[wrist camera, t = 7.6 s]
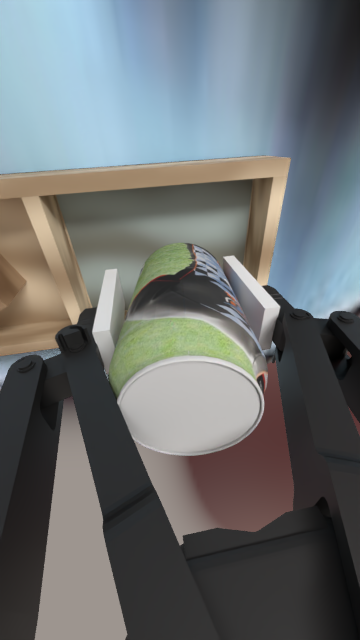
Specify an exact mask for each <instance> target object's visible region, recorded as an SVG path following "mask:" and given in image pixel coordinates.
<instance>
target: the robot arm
mask: <svg viewBox="0 0 360 640" xmlns="http://www.w3.org/2000/svg"><path fill="white" fill-rule="evenodd" d="M222 270H223V272H224V274H225V276H226V278H227V280H228V282H229V284H230V286H231V288H232V290H233V292H234V294H235V296H236V298H237V300H238V302H239V304H240V306H241V308H242V310H243V312H244V314H245V316H246V318H247V320H248V323H249V325H250V327H251V329H252V331H253V333H254V335H255V337H256V339H257V341H258V343H259V345H260V347H261V349H262V350H267V349H270V348H271V344H272V341H273V342H274V343H275V345H276V349H275V353H274V356H273V361H272V363H274V362H275V360H276V364H277V372H278V378H279V386H280V392H281V399H282V406H283V413H284V420H285V427H286V433H287V441H288V447H289V454H290V461H291V468H292V475H293V481H294V499H293V511H290V512H286V513H284V514H283V515H281V516H280V517H278V518H277V519H276V520H274V521H272V522H271V523H269V524H268V525H266V526H265V527H263V528H262V529H261V530H259V531H257V532H247V531H239V530H229V529H221V528H215V529H210V530H206V531H202V532H197V533H193V534H188V535H184V536H183V541H184V543H183V544H182V545H179V543H178V541H177V539H176V536H175V534H174V531H173V529H172V527H171V524H170V522H169V520H168V517H167V515H166V513H165V510H164V508H163V506H162V504H161V501H160V499H159V497H158V495H157V492H156V490H155V489H154V487H153V485H152V483H151V480H150V478H149V476H148V473H147V471H146V469H145V466H144V464H143V461H142V459H141V457H140V455H139V452H138V450H137V447H136V445H135V443H134V440H133V438H132V436H131V433H130V431H129V429H128V426H127V424H126V422H125V419H124V417H123V415H122V412H121V410H120V407H119V405H118V404H117V400H116V398H115V396H114V393H113V391H112V389H111V386H110V384H109V382H108V379H107V377H106V375H105V372H104V368H105V371H106V374H109V366H110V363H111V360H112V357H113V354H114V351H115V348H116V344H117V341H118V338H119V335H120V332H121V329H122V326H123V323H124V314H125V301H124V297H123V292H122V288H121V283H120V279H119V274H118V270H117V269H109V270H105V275H104V279H103V284H102V289H101V293H100V298H99V302H98V307H95V308H87V309H84V310H83V312H82V313H81V314H80V315H79V319H78V322H77V324H73V325H69V326H66V327H64V328H62V329H61V330H60V331H58V332H57V334H56V335H55V340H56V342H57V344H58V346H59V349H60V351H61V354H59V355H57V356H55V357H52V358H49V359H46V360H43V359H42V358H41V357H40V356H38V355H29V356H26V357H23V358H21V359H19V360H17V361H16V362H15V363H14V364H12V365H11V367H10V369H9V370H8V373H7V375H6V378H5V381H4V383H3V386H2V389H1V391H0V640H34V639H35V632H36V626H37V620H38V612H39V604H40V595H41V587H42V578H43V570H44V562H45V552H46V545H47V536H48V528H49V519H50V511H51V503H52V494H53V485H54V477H55V469H56V460H57V452H58V443H59V435H60V426H61V418H62V409H63V401H64V399H66V398H68V397H71V396H73V400H74V404H75V408H76V412H77V416H78V420H79V424H80V427H81V431H82V435H83V439H84V443H85V447H86V451H87V455H88V459H89V463H90V467H91V471H92V475H93V479H94V483H95V487H96V491H97V494H98V498H99V503H100V507H101V511H102V515H103V533H104V538H105V543H106V547H107V552H108V556H109V560H110V564H111V568H112V572H113V576H114V580H115V584H116V589H117V593H118V597H119V601H120V605H121V609H122V613H123V618H124V622H125V626H126V630H127V634H128V635H127V637H126V639H125V640H360V436H359V434H358V431H357V429H356V426H355V423H354V421H353V419H352V416H351V414H350V411H349V408H350V410H351V411H352V412H353V414H354V416H355V417H356V418H357V420H358V421H359V423H360V318H359V317H358V316H356V315H354V314H352V313H350V312H346V311H335V312H332V313H331V314H330V317H329V319H319V318H313V316H312V315H311V314H310V313H309V312H307V311H305V310H302V309H294V308H293V307H292V306H291V305H290V304H289V303H288V302H287V301H286V300H285V299H284V298H283V297H282V295H281V294H279V292H278V291H277V290H276V289H274V288H272V287H270V286H268V285H264V286H261V285H260V284H259V283H258V282H257V281H256V279H255V278H254V277H253V276H252V275H251V274H250V273H249V272H248V271H247V270H246V269H245V267H244V266H243V265H242V264H241V263H240V262H239V261H238V260H237V259H236V258H235V256H225V257H223V266H222ZM348 351H349V352H350V354H351V355H352V357H351V358H350V357H349V356H348V355H347V352H348ZM348 407H349V408H348Z"/></svg>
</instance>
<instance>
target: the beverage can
mask: <svg viewBox="0 0 360 640" xmlns="http://www.w3.org/2000/svg"><path fill="white" fill-rule="evenodd" d="M267 376H268V370H267V363H266V358H265V356H264V354H263V351H262V349H261V347H260V345H259V343H258V341H257V339H256V337H255V335H254V333H253V331H252V329H251V327H250V325H249V323H248V320H247V318H246V316H245V314H244V312H243V310H242V308H241V306H240V304H239V302H238V300H237V298H236V296H235V294H234V292H233V290H232V288H231V286H230V284H229V282H228V280H227V278H226V276H225V274H224V272H223V270H222V268H221V266H220V264H219V262H218V261H217V260H216V258H215V257H214V256H213V255H212V254H211V253H210V252H209V251H207V250H206V249H204V248H202V247H200V246H197V245H195V244H190V243H174V244H170V245H166V246H164V247H162V248H160V249H158V250H156V251H155V252H154V253H153V254H151V255H150V257H149V258H148V259H147V260H146V261H145V263H144V265H143V267H142V269H141V272H140V275H139V278H138V281H137V284H136V287H135V290H134V293H133V296H132V299H131V302H130V305H129V308H128V311H127V314H126V317H125V320H124V323H123V326H122V329H121V332H120V335H119V338H118V341H117V344H116V348H115V351H114V354H113V357H112V360H111V363H110V366H109V377H108V379H109V384H110V386H111V389H112V391H113V393H114V396H115V398H116V400H117V404H118V405H119V407H120V410H121V412H122V415H123V417H124V419H125V422H126V424H127V426H128V429H129V431H130V433H131V436H132V438H133V440H134V441H136V442H137V443H139V444H140V445H142V446H144V447H147V448H148V449H151V450H154V451H157V452H161V453H165V454H171V455H181V456H185V455H186V456H192V455H202V454H208V453H213V452H216V451H220V450H223V449H225V448H228V447H230V446H233V445H234V444H236V443H238V442H240V441H241V440H243V439H244V438H245V437H246V436H248V435H249V434H250V433H251V432H252V431H253V430H254V429H255V428H256V426H257V425H258V423H259V421H260V420H261V417H262V414H263V412H264V399H263V395H264V392H265V389H266V386H267Z"/></svg>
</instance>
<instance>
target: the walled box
mask: <svg viewBox="0 0 360 640" xmlns="http://www.w3.org/2000/svg"><path fill="white" fill-rule="evenodd" d="M290 160H291V158H286V157H275V156H251V157H237V158H223V159H209V160H194V161H180V162H166V163H152V164H138V165H124V166H110V167H96V168H82V169H68V170H54V171H40V172H26V173H12V174H0V254H1V255H2V256H3V257H4V258H5V259H6V260H7V261H8V262H9V263H10V264H11V265H12V266H13V267H14V268H15V269H16V270H17V272H18V273H19V274H20V275H21V276H22V277H23V278H24V279H25V280H26V281H27V282H26V283H25V284H24V286H23V287H22V288H21V290H20V291H19V292H18V293H17V295H16V296H15V297H14V299H13V300H12V301H11V303H10V304H9V305H8V306H7V307H6V308H4V309H2V310H0V356H5V355H12V354H19V353H26V352H33V351H40V350H47V349H54V348H59V346H58V344H57V342H56V340H55V335H56V334H57V332H58V331H60V330H61V329H62V328H64V327H66V326H69V325H73V324H77V322H78V319H79V315H80V314H81V313H82V312H83V310H84V309H87V308H95V307H98V302H99V298H100V293H101V289H102V284H103V279H104V275H105V270H109V269H117V270H118V274H119V279H120V283H121V288H122V292H123V297H124V301H125V314H124V320H125V317H126V314H127V311H128V308H129V305H130V302H131V299H132V296H133V293H134V290H135V287H136V284H137V281H138V278H139V275H140V272H141V269H142V267H143V265H144V263H145V261H146V260H147V259H148V258H149V257H150V255H151V254H153V253H154V252H155V251H156V250H158V249H160V248H162V247H164V246H166V245H170V244H174V243H190V244H195V245H197V246H200V247H202V248H204V249H206V250H207V251H209V252H210V253H211V254H212V255H213V256H214V257H215V258H216V260H217V261H218V262H219V264H220V266H221V268H222V266H223V257H225V256H235V258H236V259H237V260H238V261H239V262H240V263H241V264H242V265H243V266H244V267H245V269H246V270H247V271H248V272H249V273H250V274H251V275H252V276H253V277H254V278H255V279H256V281H257V282H258V283H259V284H260V285H261V286H264V285H267V282H268V277H269V272H270V266H271V261H272V256H273V251H274V245H275V240H276V235H277V229H278V224H279V219H280V213H281V208H282V203H283V197H284V192H285V187H286V181H287V176H288V171H289V166H290Z"/></svg>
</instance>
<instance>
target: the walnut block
mask: <svg viewBox="0 0 360 640" xmlns="http://www.w3.org/2000/svg"><path fill="white" fill-rule="evenodd" d="M26 282H27V281H26V280H25V279H24V278H23V277H22V276H21V275H20V274H19V273H18V272H17V270H16V269H15V268H14V267H13V266H12V265H11V264H10V263H9V262H8V261H7V260H6V259H5V258H4V257H3V256H2V255H1V254H0V310H2V309H4V308H6V307H7V306H8V305H9V304H10V303H11V301H12V300H13V299H14V297H15V296H16V295H17V293H18V292H19V291H20V290H21V288H22V287H23V286H24V284H25V283H26Z"/></svg>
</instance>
